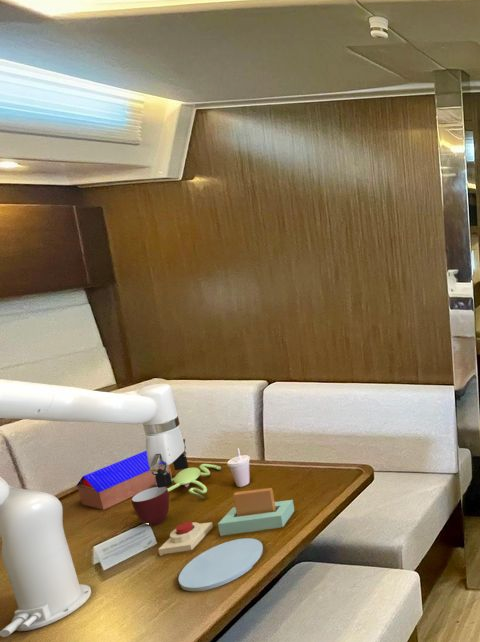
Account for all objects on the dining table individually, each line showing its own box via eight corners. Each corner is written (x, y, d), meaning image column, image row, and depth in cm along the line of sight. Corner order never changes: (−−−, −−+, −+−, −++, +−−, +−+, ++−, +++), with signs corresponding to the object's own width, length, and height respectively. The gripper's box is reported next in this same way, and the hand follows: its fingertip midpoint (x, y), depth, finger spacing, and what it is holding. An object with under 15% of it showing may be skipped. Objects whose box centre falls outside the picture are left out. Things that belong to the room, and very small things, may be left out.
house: (80, 504, 152) (71, 473, 150) (152, 472, 171) (145, 444, 168) (102, 510, 149) (94, 478, 146) (174, 477, 167) (167, 448, 165)
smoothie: (244, 489, 159) (238, 453, 157) (227, 489, 159) (219, 453, 157) (258, 478, 166) (252, 443, 163) (241, 478, 166) (234, 444, 163)
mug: (123, 529, 139) (116, 500, 137) (151, 512, 147) (145, 485, 145) (154, 531, 138) (147, 502, 136) (180, 514, 146) (174, 486, 144)
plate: (242, 584, 118) (241, 580, 118) (161, 597, 114) (160, 593, 114) (275, 537, 135) (274, 533, 135) (206, 547, 131) (205, 543, 131)
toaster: (283, 528, 139) (281, 515, 138) (220, 537, 136) (217, 523, 135) (294, 511, 147) (292, 499, 146) (235, 519, 143) (232, 507, 142)
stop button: (188, 534, 132) (187, 528, 131) (173, 536, 131) (172, 530, 131) (196, 525, 135) (195, 520, 135) (182, 527, 134) (181, 522, 134)
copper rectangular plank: (275, 521, 141) (269, 490, 139) (239, 526, 139) (233, 495, 137) (277, 518, 143) (272, 487, 141) (241, 523, 141) (235, 492, 139)
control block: (192, 551, 130) (189, 539, 129) (159, 555, 128) (156, 543, 127) (213, 528, 139) (210, 516, 139) (183, 532, 138) (180, 520, 137)
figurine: (128, 520, 143) (124, 505, 142) (162, 478, 167) (159, 464, 166) (202, 503, 151) (199, 489, 150) (224, 465, 175) (222, 452, 174)
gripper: (161, 415, 139) (173, 465, 143) (127, 441, 124) (141, 496, 127) (191, 411, 142) (202, 460, 145) (162, 436, 126) (174, 490, 130)
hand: (173, 477), depth 136 cm, fingers open, 9 cm apart
